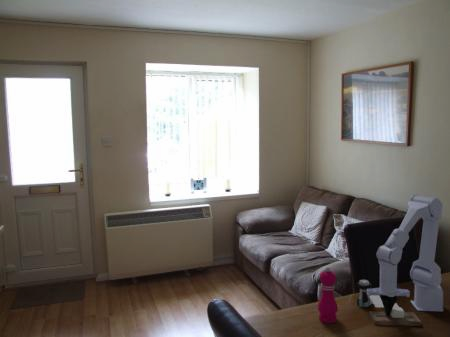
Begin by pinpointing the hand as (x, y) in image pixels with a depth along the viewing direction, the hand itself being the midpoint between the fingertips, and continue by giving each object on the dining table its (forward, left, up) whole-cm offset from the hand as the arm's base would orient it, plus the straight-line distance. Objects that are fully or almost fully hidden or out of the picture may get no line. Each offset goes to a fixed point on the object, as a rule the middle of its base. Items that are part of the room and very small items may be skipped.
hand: (387, 314), depth 139 cm
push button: (+5, -11, -2) cm, 13 cm away
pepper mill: (+22, +1, -2) cm, 22 cm away
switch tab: (-3, 0, 0) cm, 3 cm away
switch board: (-2, 0, -2) cm, 3 cm away
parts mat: (-3, -15, -2) cm, 15 cm away
